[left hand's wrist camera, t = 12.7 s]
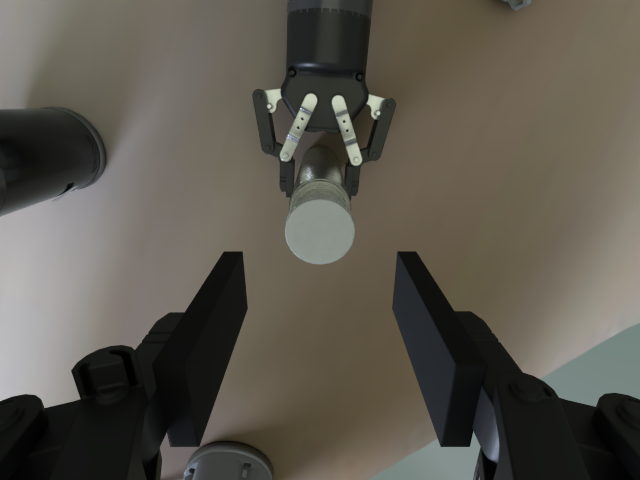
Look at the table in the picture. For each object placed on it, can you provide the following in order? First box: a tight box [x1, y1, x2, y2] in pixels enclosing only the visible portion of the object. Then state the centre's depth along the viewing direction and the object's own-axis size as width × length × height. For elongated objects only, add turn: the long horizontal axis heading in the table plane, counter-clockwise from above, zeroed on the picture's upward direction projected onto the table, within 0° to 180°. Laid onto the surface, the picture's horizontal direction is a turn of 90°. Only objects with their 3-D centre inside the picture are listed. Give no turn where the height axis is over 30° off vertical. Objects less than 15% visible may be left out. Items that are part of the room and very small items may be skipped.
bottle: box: [289, 146, 351, 212], centre depth 31 cm, size 4×4×24 cm
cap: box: [285, 192, 355, 264], centre depth 21 cm, size 4×4×2 cm
